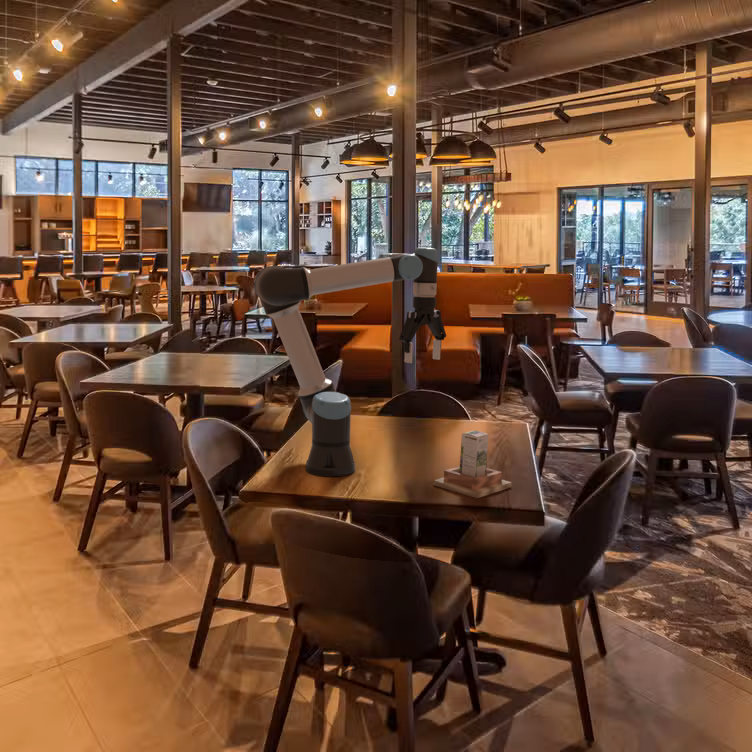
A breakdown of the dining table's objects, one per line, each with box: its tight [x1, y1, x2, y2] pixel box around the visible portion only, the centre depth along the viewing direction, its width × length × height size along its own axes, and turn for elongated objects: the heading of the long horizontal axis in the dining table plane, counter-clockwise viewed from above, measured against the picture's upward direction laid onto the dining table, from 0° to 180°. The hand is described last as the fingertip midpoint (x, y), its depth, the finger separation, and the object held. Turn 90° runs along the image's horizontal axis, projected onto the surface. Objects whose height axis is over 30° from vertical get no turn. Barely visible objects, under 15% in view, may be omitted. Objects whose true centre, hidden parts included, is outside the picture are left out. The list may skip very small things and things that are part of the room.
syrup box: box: [459, 430, 489, 478], centre depth 232 cm, size 6×6×14 cm
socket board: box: [433, 465, 512, 499], centre depth 233 cm, size 16×16×4 cm
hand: (422, 361), depth 262 cm, fingers open, 13 cm apart
